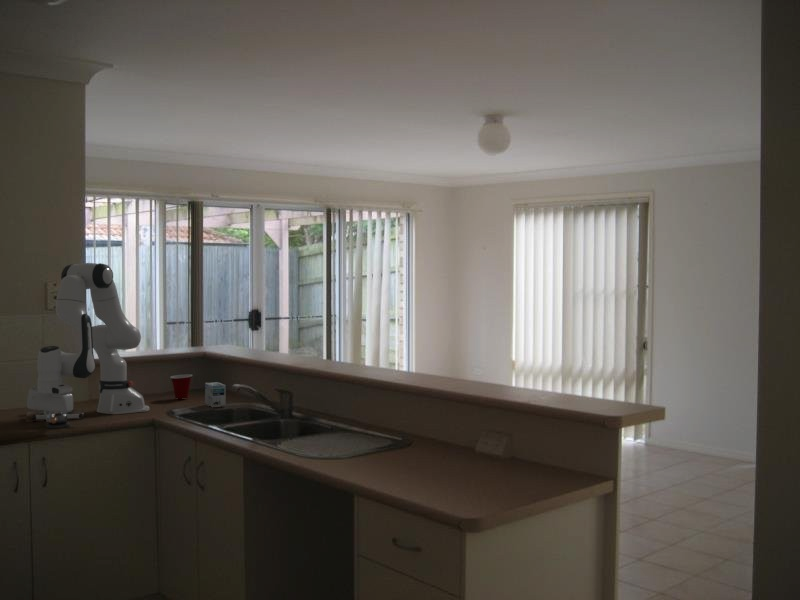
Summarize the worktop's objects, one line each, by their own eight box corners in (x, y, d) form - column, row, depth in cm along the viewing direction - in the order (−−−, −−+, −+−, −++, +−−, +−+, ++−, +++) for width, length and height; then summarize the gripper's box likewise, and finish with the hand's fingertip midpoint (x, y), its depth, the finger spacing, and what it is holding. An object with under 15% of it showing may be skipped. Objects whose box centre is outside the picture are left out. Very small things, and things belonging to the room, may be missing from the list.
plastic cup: (172, 397, 382) (172, 373, 382) (194, 397, 383) (194, 373, 383) (167, 401, 371) (167, 376, 371) (190, 401, 373) (190, 376, 372)
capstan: (36, 419, 315) (36, 408, 315) (87, 417, 320) (87, 406, 320) (25, 428, 296) (25, 417, 296) (80, 427, 301) (80, 415, 301)
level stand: (82, 414, 333) (82, 405, 333) (83, 418, 324) (83, 408, 324) (27, 418, 324) (27, 408, 324) (26, 422, 315) (26, 412, 315)
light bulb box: (226, 407, 357) (226, 384, 357) (212, 408, 353) (212, 385, 353) (217, 403, 366) (217, 381, 366) (204, 405, 362) (204, 382, 362)
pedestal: (69, 423, 314) (69, 421, 314) (70, 427, 306) (70, 425, 306) (45, 425, 310) (45, 422, 310) (45, 429, 302) (45, 426, 302)
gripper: (22, 386, 302) (23, 421, 302) (64, 390, 295) (64, 425, 296) (35, 384, 308) (35, 418, 308) (75, 388, 301) (76, 422, 302)
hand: (49, 422), depth 302 cm, fingers closed
